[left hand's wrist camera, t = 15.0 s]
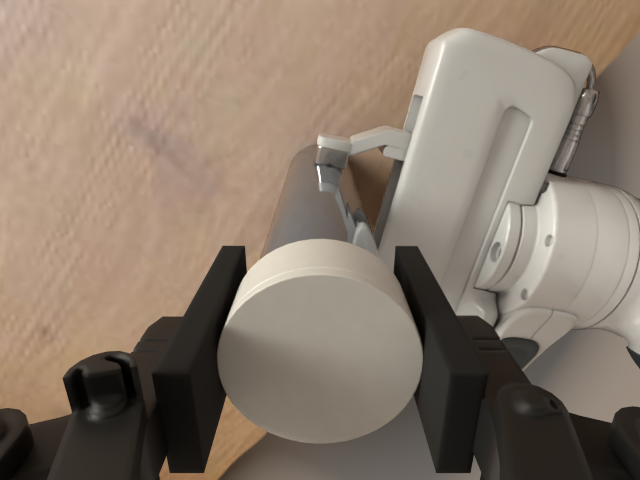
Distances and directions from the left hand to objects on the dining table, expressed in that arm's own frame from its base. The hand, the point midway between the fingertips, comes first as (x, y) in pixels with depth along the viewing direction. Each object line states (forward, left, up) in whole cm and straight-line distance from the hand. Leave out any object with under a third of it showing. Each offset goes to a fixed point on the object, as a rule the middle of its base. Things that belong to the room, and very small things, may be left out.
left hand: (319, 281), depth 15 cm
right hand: (0, +1, -10) cm, 10 cm away
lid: (0, 0, +4) cm, 4 cm away
